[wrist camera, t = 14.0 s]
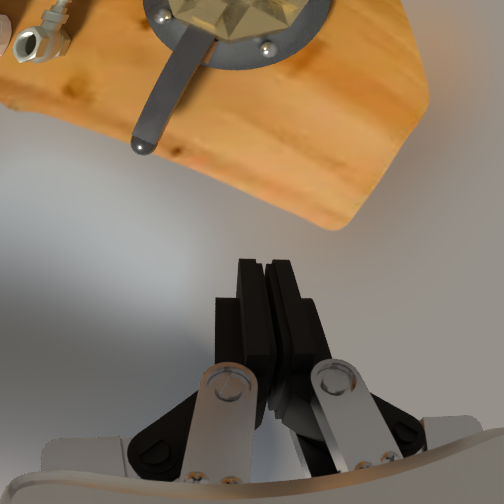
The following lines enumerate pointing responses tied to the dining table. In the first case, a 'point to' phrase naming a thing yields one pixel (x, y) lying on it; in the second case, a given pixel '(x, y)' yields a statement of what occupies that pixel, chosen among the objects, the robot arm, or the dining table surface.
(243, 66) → the cap plate
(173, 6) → the castle nut fixture
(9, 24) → the white cup
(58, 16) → the valve
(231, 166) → the dining table surface
